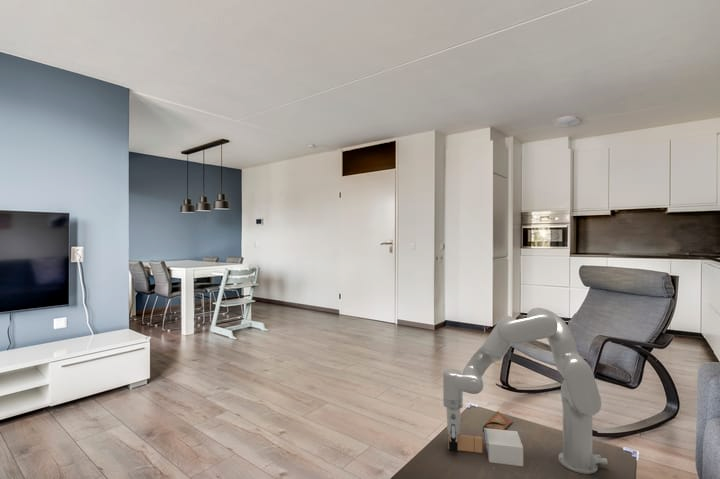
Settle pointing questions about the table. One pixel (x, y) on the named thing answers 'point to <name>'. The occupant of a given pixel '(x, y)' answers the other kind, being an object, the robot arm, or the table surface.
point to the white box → (504, 447)
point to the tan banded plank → (468, 443)
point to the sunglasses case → (498, 422)
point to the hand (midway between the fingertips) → (453, 446)
